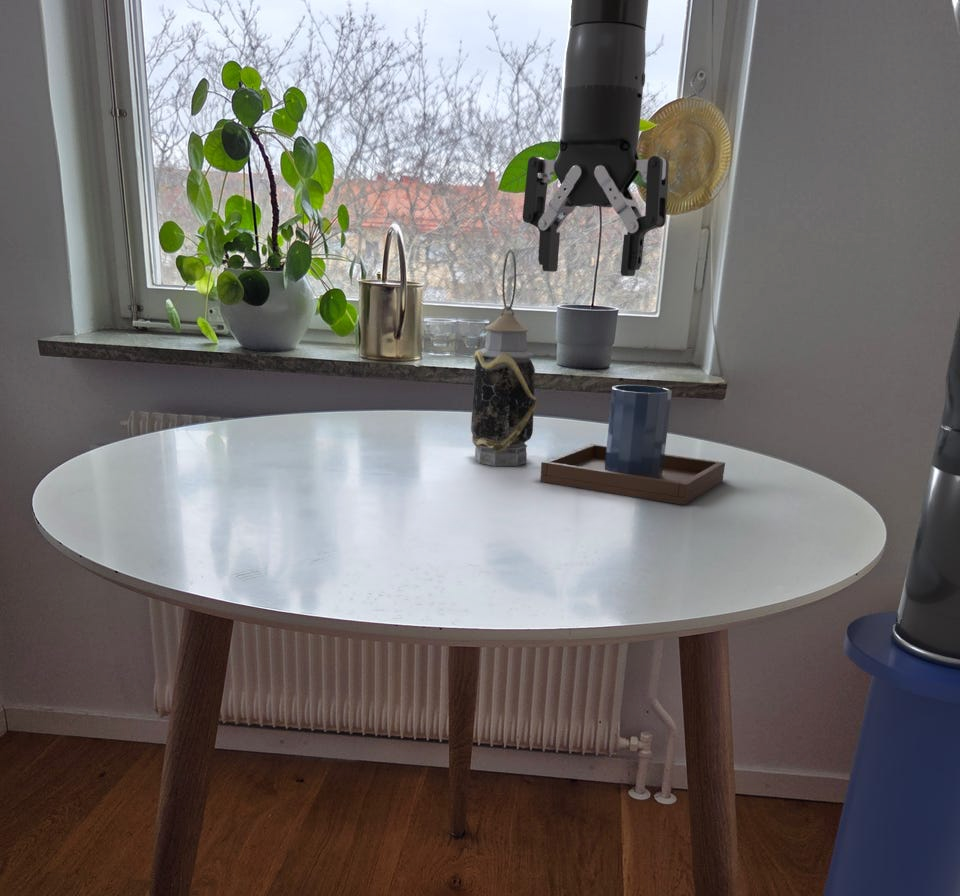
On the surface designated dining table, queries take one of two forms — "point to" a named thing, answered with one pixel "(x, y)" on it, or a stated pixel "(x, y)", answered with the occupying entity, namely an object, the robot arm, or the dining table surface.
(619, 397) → the cup
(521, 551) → the dining table surface
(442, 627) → the dining table surface
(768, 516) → the dining table surface
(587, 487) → the tray
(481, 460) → the lantern
